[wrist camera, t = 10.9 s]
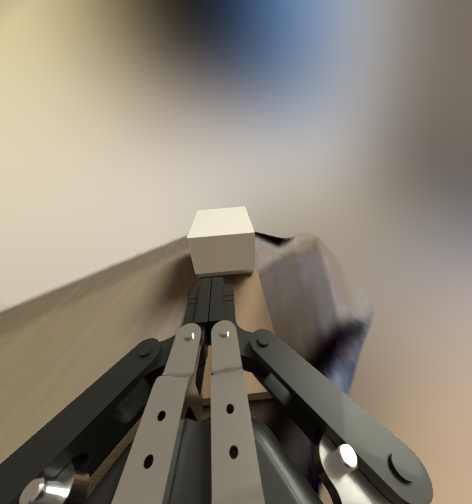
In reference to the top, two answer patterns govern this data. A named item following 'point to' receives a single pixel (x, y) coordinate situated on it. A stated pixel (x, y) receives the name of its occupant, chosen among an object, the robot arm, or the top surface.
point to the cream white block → (222, 242)
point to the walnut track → (243, 325)
